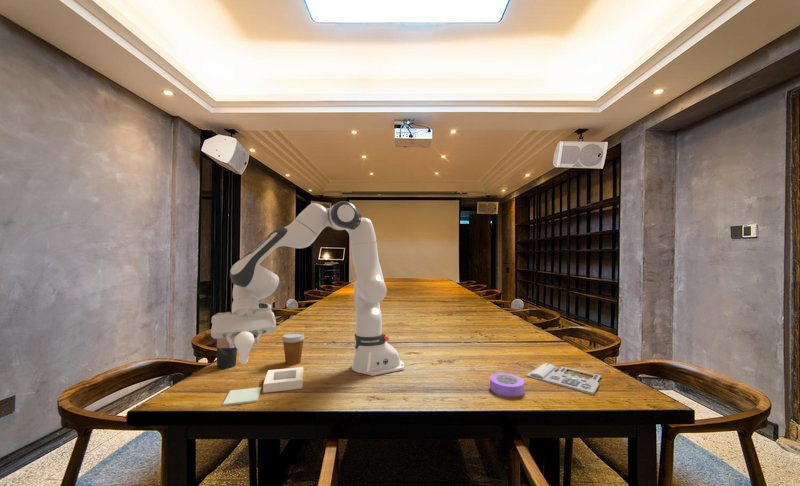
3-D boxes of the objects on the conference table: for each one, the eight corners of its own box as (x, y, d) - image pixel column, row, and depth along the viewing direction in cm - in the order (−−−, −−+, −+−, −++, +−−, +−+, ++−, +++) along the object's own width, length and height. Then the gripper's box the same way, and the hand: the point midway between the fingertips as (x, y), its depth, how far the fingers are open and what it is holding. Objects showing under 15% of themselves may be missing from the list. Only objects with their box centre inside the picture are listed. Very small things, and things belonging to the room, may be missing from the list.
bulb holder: (303, 374, 123) (303, 366, 123) (302, 388, 111) (302, 379, 111) (267, 378, 119) (268, 370, 119) (263, 392, 107) (263, 384, 107)
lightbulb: (245, 368, 100) (246, 334, 101) (229, 366, 102) (230, 333, 102) (257, 362, 106) (258, 329, 107) (242, 360, 108) (243, 328, 108)
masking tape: (521, 400, 103) (521, 389, 103) (486, 392, 109) (486, 381, 109) (526, 387, 113) (526, 376, 113) (493, 380, 119) (493, 370, 119)
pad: (261, 388, 110) (261, 387, 110) (257, 401, 100) (257, 400, 100) (230, 392, 107) (230, 390, 107) (222, 406, 98) (222, 404, 98)
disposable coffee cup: (308, 361, 138) (309, 334, 138) (291, 367, 130) (291, 339, 130) (294, 357, 143) (295, 331, 144) (276, 363, 135) (277, 335, 135)
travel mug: (240, 364, 134) (241, 317, 134) (224, 370, 127) (225, 321, 127) (228, 361, 137) (230, 316, 138) (212, 367, 130) (213, 319, 131)
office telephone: (525, 371, 123) (543, 359, 137) (525, 378, 123) (543, 365, 137) (593, 388, 107) (604, 372, 121) (593, 396, 107) (605, 379, 121)
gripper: (211, 308, 106) (207, 344, 97) (275, 304, 115) (277, 337, 106) (212, 318, 110) (208, 354, 101) (274, 314, 119) (275, 346, 110)
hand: (244, 345), depth 104 cm, fingers closed on lightbulb, 6 cm apart
